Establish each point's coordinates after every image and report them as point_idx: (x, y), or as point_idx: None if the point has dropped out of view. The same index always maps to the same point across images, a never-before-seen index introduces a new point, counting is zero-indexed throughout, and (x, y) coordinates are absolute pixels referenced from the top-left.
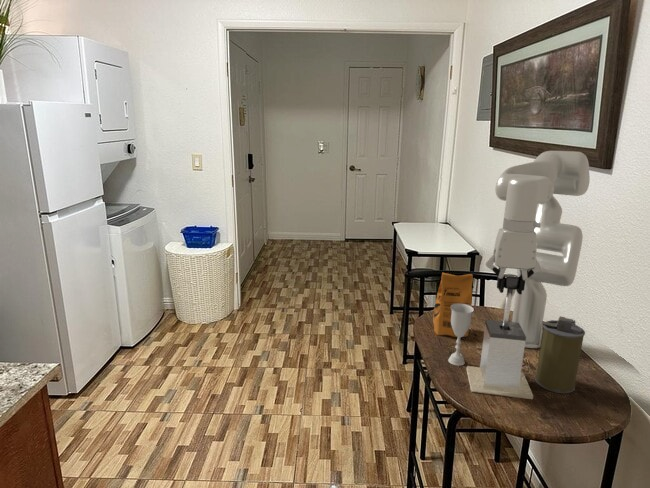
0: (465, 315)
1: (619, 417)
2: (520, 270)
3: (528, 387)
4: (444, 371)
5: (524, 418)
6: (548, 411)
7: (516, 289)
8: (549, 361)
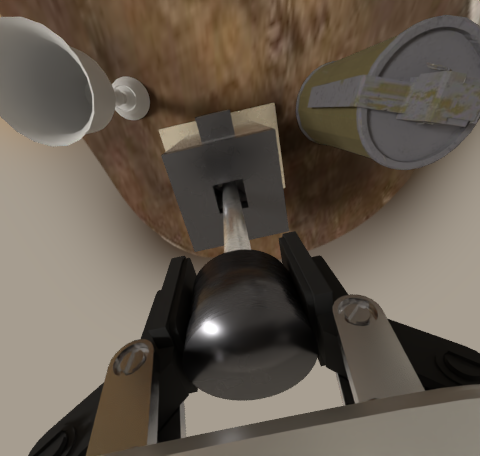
0: (81, 132)
1: (405, 177)
2: (350, 386)
3: (280, 163)
4: (122, 158)
5: (267, 239)
6: (303, 208)
7: (279, 240)
8: (334, 145)
